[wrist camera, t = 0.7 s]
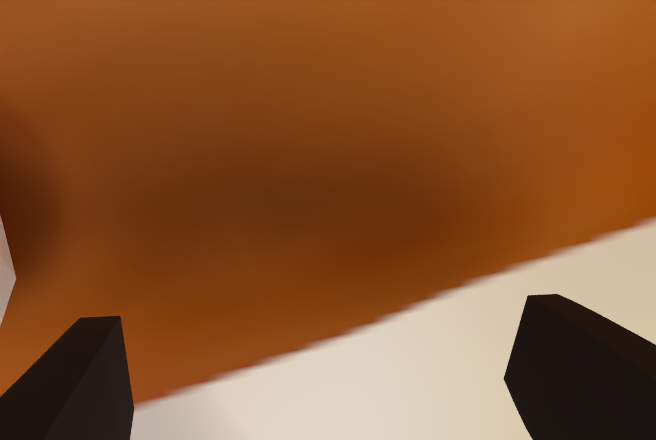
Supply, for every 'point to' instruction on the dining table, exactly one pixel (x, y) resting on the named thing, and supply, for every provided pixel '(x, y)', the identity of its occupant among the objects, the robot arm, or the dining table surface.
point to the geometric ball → (5, 272)
